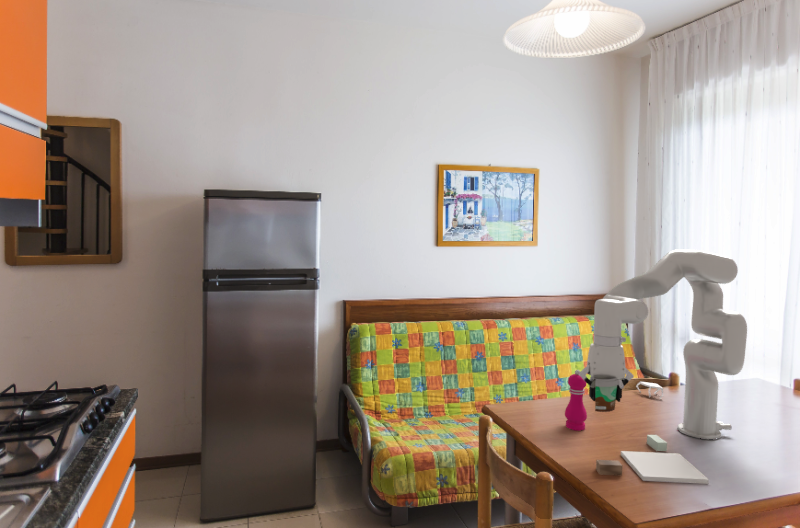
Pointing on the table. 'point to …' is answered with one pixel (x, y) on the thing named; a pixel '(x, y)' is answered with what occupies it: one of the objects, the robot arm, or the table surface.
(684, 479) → the platter
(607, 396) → the food container
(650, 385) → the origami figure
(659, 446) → the sage block
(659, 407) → the table surface
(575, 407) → the pepper mill
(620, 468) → the walnut block
